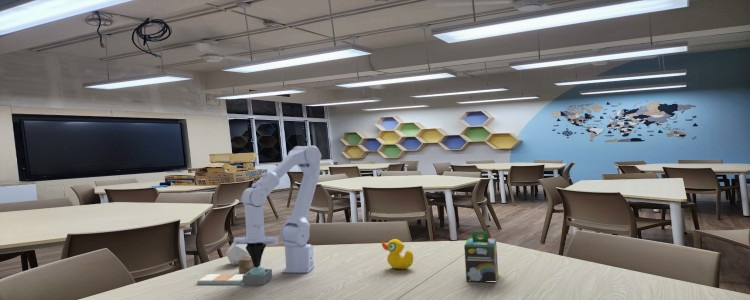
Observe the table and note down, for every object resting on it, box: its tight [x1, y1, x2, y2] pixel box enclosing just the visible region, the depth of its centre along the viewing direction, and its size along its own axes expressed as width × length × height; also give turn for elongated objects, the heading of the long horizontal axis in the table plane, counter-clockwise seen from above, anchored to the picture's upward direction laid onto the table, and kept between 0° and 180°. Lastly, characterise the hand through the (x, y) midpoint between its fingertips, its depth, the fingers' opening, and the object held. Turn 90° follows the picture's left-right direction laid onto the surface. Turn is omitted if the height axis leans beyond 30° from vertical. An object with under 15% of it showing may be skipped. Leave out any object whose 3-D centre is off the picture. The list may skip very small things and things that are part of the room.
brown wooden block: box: [238, 257, 254, 274], centre depth 153 cm, size 4×4×5 cm
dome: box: [250, 265, 266, 275], centre depth 143 cm, size 5×5×4 cm
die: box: [225, 242, 250, 266], centre depth 165 cm, size 8×9×10 cm
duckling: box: [381, 238, 414, 270], centre depth 150 cm, size 11×5×10 cm, turn 63°
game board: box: [196, 273, 244, 285], centre depth 145 cm, size 15×7×1 cm, turn 82°
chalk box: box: [463, 230, 499, 282], centre depth 136 cm, size 9×9×15 cm
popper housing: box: [242, 268, 273, 286], centre depth 143 cm, size 7×7×3 cm
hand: (257, 266), depth 142 cm, fingers closed, pressing on dome
